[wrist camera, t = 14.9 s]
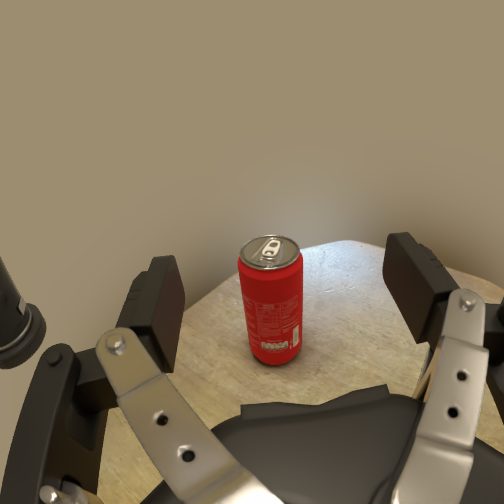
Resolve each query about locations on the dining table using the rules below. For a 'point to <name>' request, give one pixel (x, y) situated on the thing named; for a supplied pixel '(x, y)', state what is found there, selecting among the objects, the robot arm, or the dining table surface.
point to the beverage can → (272, 297)
